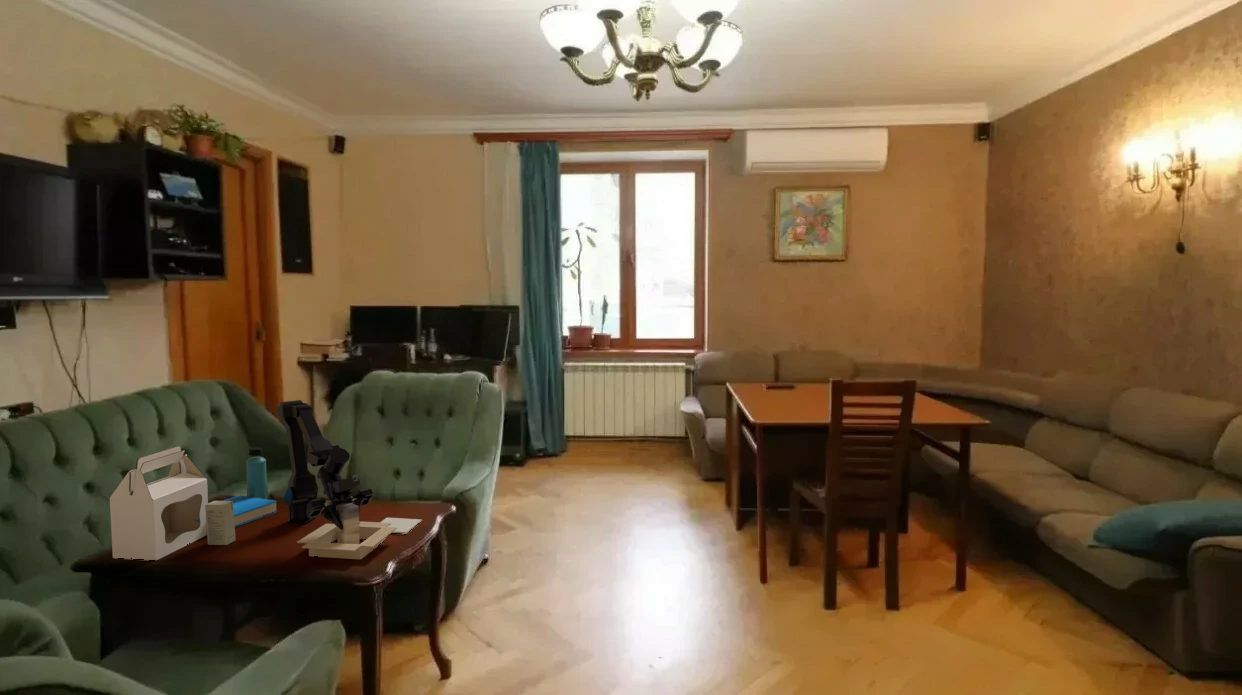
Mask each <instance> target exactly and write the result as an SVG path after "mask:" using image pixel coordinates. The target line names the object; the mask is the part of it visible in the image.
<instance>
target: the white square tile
mask: <svg viewBox="0 0 1242 695" xmlns="http://www.w3.org/2000/svg"><path fill="white" fill-rule="evenodd" d="M421 521H423V519H418V518H400V517H386V518H385V517H384V519H383V520H381V521H380V522H379V523H391V524H390V525H389V526H388V527H394V528H397V529H396V530H394V531H393V532H392V533H402V534H401V535H404V534H407V533H408V532H409V531H410V530H411V529H413V528H414V527H415V526H416V525H417V524H418V523H420V522H421ZM421 523H422V522H421ZM421 523H420V524H421ZM417 526H418V525H417ZM417 526H416V527H417ZM416 527H415V528H416ZM415 528H414V529H415ZM414 529H413V530H414ZM411 531H412V530H411ZM411 531H410V532H411ZM410 532H409V533H410ZM409 533H408V534H409ZM408 534H407V535H408Z"/></svg>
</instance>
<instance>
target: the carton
mask: <svg viewBox="0 0 1242 695" xmlns="http://www.w3.org/2000/svg"><path fill="white" fill-rule="evenodd" d="M390 524H391V523H380V522H377V521H361V520H360V524H359V539H360V540H363V542H360V545H359V544H343V543H338V542H334V541H337V540H338V534H337V526H336V525H335V524H333V523H325V524H324V525H322V526H320V527H318V528H317V529H315V530H313V531H312V532H310V533H308V534H307V535H306V536H304V537H302V538H300V539H299V540H297V542H296V543H297V544H304V545H303V546H301V549H308V557H314V556H318V557H317V558H332V559H349V560H351V559H352V560H362V559H363V558H365V557H366V556H368V555H369V554H370V553H371V552H372V551H374V550H375V549H376V548H378V547H379V546H380V545H381V544H383V543H384V542H385V541H386V540H387V537H388V536H389V535H392V534H391V533H392V532H393V531H394V530H396V529H397V528H394V527H388V526H389V525H390ZM364 539H366V540H364ZM385 539H386V540H385ZM384 540H385V541H384ZM383 541H384V542H383ZM331 542H332V543H331ZM382 542H383V543H382ZM380 543H381V544H380ZM379 544H380V545H379ZM378 545H379V546H378ZM373 549H374V550H373Z"/></svg>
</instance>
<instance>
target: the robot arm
mask: <svg viewBox="0 0 1242 695" xmlns="http://www.w3.org/2000/svg"><path fill="white" fill-rule="evenodd" d="M275 410H276V411H275V412H276V415H277V417H278V420H279V423H280V424H281V426H282V427H284V428H285V431H286V438H287V444H288V451H289V457H290V458H289V459H290V466H291V467H290V468H291V475H290V478H289V480H288V482H287V489H286V491H285V493H284V495H283V500H284V501H283V502H284V504H286V505H288V512H289V514H288V515H289V516H288V518H289V519H287V520H286V523H288V524H301V525H302V524H306V523H309V522H310V521H312V520H313V519H315V518H316V517H319V515H320V518H325V519H326V520H328V521H329V522H331V524H335V525H336V526H337V527H338V528H339V529H341V530H343V524H342V522H341V519H340V517H339V515H338V513H337V506H340V505H345V504H349V503H353V504H355V505H357V506H359V524H360V521H361V520H360V517H361V516H360V510H361V509H360V508H361V507H363V506H366V505H369V504H370V503H371V501H372V499H373V498H374V496H375V492H374V491H373V489H372V488H371V487H368V488H363V489H359V490H358V491H356V492H357V493H356V494H355V495H351V494H352V493H353V490H354V489H356V487H358V486H360V485H361V480H360V477H359V475H358V474H353V475H351V476H349V478H343V477H342V475H341V473H342V472H343V471H344V469H345V467H346V465H347V463H348V462H349V461H350V458H351V457H350V456H351V455H350V453H349V452H348V451H347V450H346V449H345V448H343V447H340V445H339V444H335V445H333V444H332V442H331V441H330V440H327V439H326V438H324V435H323V433H322V432H321V429H320V426H319V425H318V423H317V421H316V418H315V416H314V414H313V407H312V406H311V404H309V403H307V402H303V401H302V399H296V400H288V401H280V403H279V404H278V405H277V406H276V409H275ZM305 442H306V444H307V447H308V449H307V451H306V446H305ZM308 463H309V464H310V466H311V467H314V468H315V467H319V470H318V471H317V475H316V476H317V477H316V476H315V474H314V473H311V472H310V470H309V468H308V466H309V465H308ZM316 478H317V479H319V480H320V482H321V485H322V487H323V491H322V492H323V495H324V496H325V495H326V497H327V500H326V498H324V497H321V498H318V494H319V486H318V484H317V480H316ZM350 495H351V496H350ZM320 513H321V514H320Z"/></svg>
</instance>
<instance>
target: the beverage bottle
mask: <svg viewBox="0 0 1242 695" xmlns="http://www.w3.org/2000/svg"><path fill="white" fill-rule="evenodd" d="M262 454H263V448H262V447H252V448H249V449H248V455H249V456H251V457H249V458H248V459H247V460H246V461H245V465H246V496H247V497H254V498H261V499H268V497H269V492H268V476H267V475H268V474H267V459H266V458H265V457H263V456H260V455H262ZM252 456H253V457H252Z"/></svg>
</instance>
